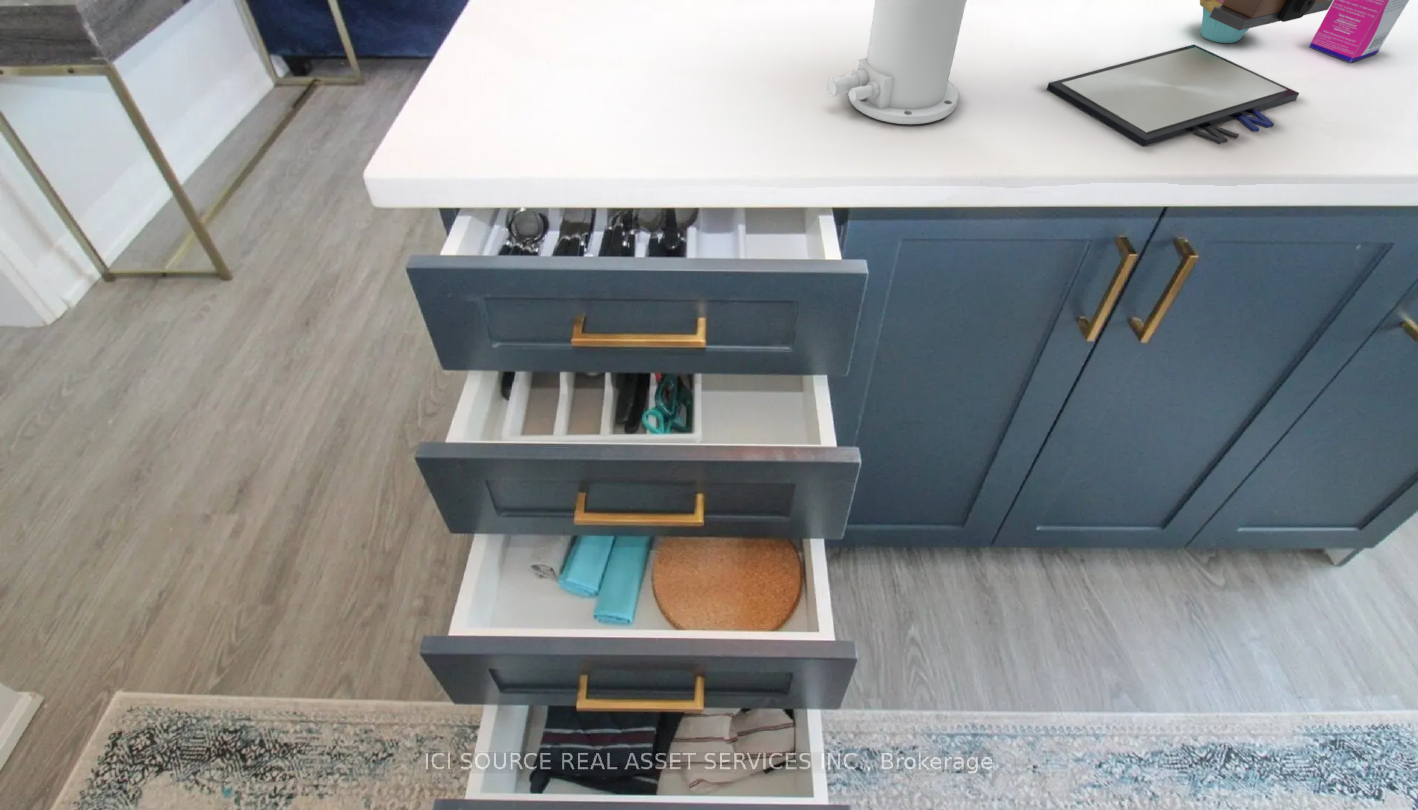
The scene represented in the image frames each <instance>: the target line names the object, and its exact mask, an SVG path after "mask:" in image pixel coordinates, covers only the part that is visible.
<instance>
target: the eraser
mask: <svg viewBox="0 0 1418 810" xmlns="http://www.w3.org/2000/svg"><path fill="white" fill-rule="evenodd" d="M1286 1H1287V0H1224V1H1223V3H1222V5H1221V6H1217V7H1214V9H1213V11H1212V13H1211V15H1210V18H1212V19H1214V20H1217V21H1219V22H1221V23H1223V24H1225V25H1228V26H1230V27H1232V28H1234V29H1236V30H1239V31H1240V30H1244V29H1248V30H1250V29H1252V28H1257V27H1260V26H1265V25H1269V24H1274V23H1278V22H1281V21H1280V20H1278V15H1279V13H1280V11H1281V10H1282V8H1283V6H1284V4H1285V3H1286ZM1333 1H1334V0H1316V1H1315V3H1314V4H1313V6H1312V8H1311V9H1310V10H1309V11H1308V12H1307V13H1305V14H1304V16H1307V15H1311V14H1317V13H1320V12H1324V11H1328V10H1329V8H1330V7H1331V5H1332V3H1333Z"/></svg>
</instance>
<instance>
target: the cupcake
mask: <svg viewBox="0 0 1418 810" xmlns="http://www.w3.org/2000/svg"><path fill="white" fill-rule="evenodd" d="M1223 1H1224V0H1199V6H1201V7H1202V18H1201V26H1200V35H1201V36H1202V37H1203V38H1204V39H1207V40H1208V41H1211V42H1215V43H1221V44H1234V43H1237V42H1239V41H1240V40H1241V39H1242V37H1243V36H1244V35H1245V34H1246V33H1247V31H1248V30H1249V29H1244V30H1240V31H1239V30H1236V29H1234V28H1232V27H1230V26H1228V25H1225V24H1223V23H1221V22H1219V21H1217V20H1214V19H1212V18H1210V15H1211V13H1212V11H1213V9H1214V7H1217V6H1221V5H1222V3H1223Z"/></svg>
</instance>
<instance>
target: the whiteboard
mask: <svg viewBox="0 0 1418 810" xmlns="http://www.w3.org/2000/svg"><path fill="white" fill-rule="evenodd" d="M1046 90H1047V91H1049V92H1050V93H1052V94H1054V95H1056V96H1057V97H1059V98H1061V99H1062V100H1064V101H1065V102H1067V103H1069V104H1071V105H1073V106H1074V107H1075V108H1077V109H1079V110H1081V111H1083V112H1084V113H1086V114H1088V115H1089V116H1090V117H1092V118H1094V119H1095V120H1098V121H1100V122H1101V123H1102V124H1104V125H1106V126H1108V127H1109V128H1111V129H1113V130H1115V131H1116V132H1118V133H1120V134H1121V135H1122V136H1124V137H1126V138H1128V139H1130V140H1131V141H1133V142H1135V143H1136V144H1138V145H1140V146H1141V147H1147V146H1150V145H1153V144H1156V143H1160V142H1163V141H1166V140H1170V139H1173V138H1176V137H1179V136H1183V135H1185V134H1189V133H1193V132H1194V131H1195V130H1201V129H1205V127H1207V126H1211V125H1215V126H1216V125H1219V124H1221V123H1225V122H1228V121H1231V120H1234V119H1237V117H1238V116H1242V115H1243V114H1244V115H1247V116H1248V115H1250V114H1252V112H1253V111H1260V112H1261V111H1264V110H1267V109H1271V108H1273V107H1277V106H1280V105H1282V104H1285V103H1288V102H1289V103H1290V102H1293V101H1296V100H1297V99H1298V97H1299V95H1300V92H1298V91H1296V90H1293V89H1292V88H1289V87H1287V86H1286V85H1283V84H1280V83H1279V82H1276V81H1274V80H1273V79H1270V78H1268V77H1266V76H1264V75H1261V74H1260V73H1257V72H1255V71H1253V70H1250V69H1248V68H1246V67H1244V66H1242V65H1240V64H1238V63H1236V62H1233V61H1231V60H1229V59H1227V58H1225V57H1222V56H1221V55H1219V54H1216V53H1214V52H1211V51H1209V50H1207V49H1205V48H1203V47H1201V46H1199V45H1196V44H1194V43H1193V44H1190V45H1187V46H1183V47H1179V48H1178V47H1177V48H1175V49H1171V50H1168V51H1163V52H1160V53H1155V54H1152V55H1149V56H1144V57H1140V58H1137V59H1133V60H1130V61H1129V60H1128V61H1125V62H1122V63H1118V64H1114V65H1111V66H1106V67H1103V68H1099V69H1095V70H1092V71H1088V72H1085V73H1081V74H1076V75H1073V76H1070V77H1065V78H1061V79H1057V80H1054V81H1050V82H1048V84H1047V86H1046Z"/></svg>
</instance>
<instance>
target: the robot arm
mask: <svg viewBox="0 0 1418 810" xmlns="http://www.w3.org/2000/svg"><path fill="white" fill-rule="evenodd" d="M1315 1H1316V0H1287V1H1286V3H1285V4H1284V6H1283V8H1282V10H1281V11H1280V13H1279V15H1278V20H1280V21H1279V22H1282V23H1286V22H1290V21H1294V20H1297V19H1301V18H1303V17H1304V16H1305V15H1304V14H1305V13H1307V12H1308V11H1309V10H1310V9H1311V8H1312V6H1313V4H1314V3H1315ZM966 4H967V0H874V6H873V12H872V19H871V26H870V33H869V40H868V47H867V55H866V57H865V58H861V59H858V62H857V69H854V70H852V72H851V73H850V74H848V75H840V76H836V77H832V78H829V79H828V81H827V92H828V94H829V95H830V97H838V96H842V95H846V94H848V99H849V101H850V104H851V105H852V106H853V107H854V108H855V109H856V110H857V111H859V112H860V113H862V114H864V115H866V116H868V117H869V118H873V119H875V120H878V121H882V122H886V123H890V124H898V125H921V124H922V125H923V124H928V123H933V122H937V121H940V120H942V119H945V118H947V117H948V116H949V115H951V114H952V113H953V112H954V111H955V109H956V108H957V105H958V101H959V91H958V89H957V88H956V86H955V85H954V83H952V81H950V80H949V79H950V74H951V69H952V66H953V61H954V58H955V53H956V48H957V44H958V38H959V34H960V31H961V26H962V22H963V21H962V20H963V18H964V12H965V8H966Z"/></svg>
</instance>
